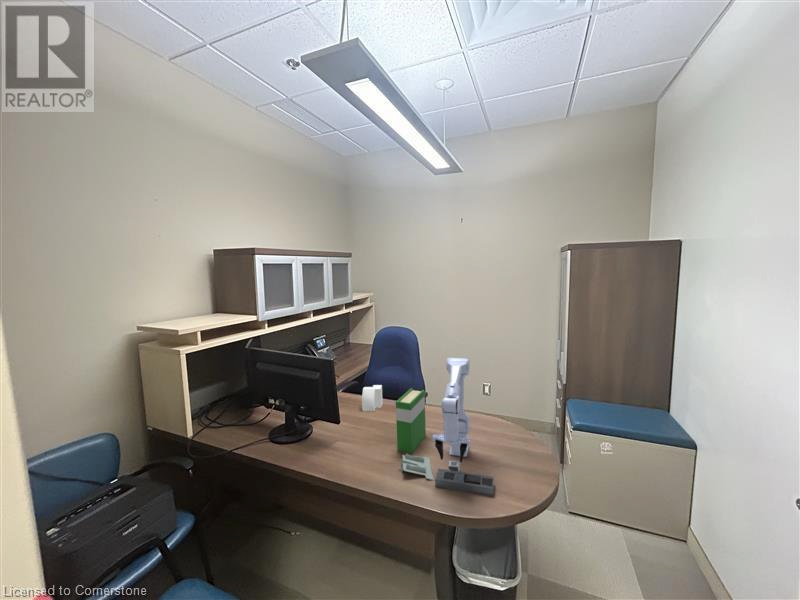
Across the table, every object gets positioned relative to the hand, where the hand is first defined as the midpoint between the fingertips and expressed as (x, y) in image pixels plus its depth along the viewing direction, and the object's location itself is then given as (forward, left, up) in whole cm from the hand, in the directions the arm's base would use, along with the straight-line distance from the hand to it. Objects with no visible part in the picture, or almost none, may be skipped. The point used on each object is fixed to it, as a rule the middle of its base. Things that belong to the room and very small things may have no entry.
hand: (451, 459), depth 131 cm
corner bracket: (-57, -57, -10) cm, 81 cm away
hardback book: (-24, -23, -10) cm, 35 cm away
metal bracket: (-4, -16, -10) cm, 19 cm away
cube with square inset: (-6, 0, -10) cm, 12 cm away
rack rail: (+1, +5, -10) cm, 11 cm away
